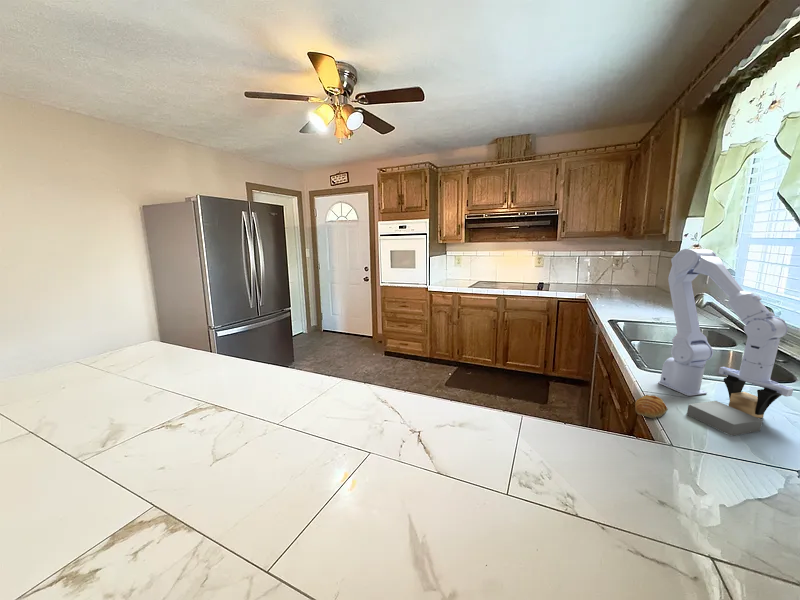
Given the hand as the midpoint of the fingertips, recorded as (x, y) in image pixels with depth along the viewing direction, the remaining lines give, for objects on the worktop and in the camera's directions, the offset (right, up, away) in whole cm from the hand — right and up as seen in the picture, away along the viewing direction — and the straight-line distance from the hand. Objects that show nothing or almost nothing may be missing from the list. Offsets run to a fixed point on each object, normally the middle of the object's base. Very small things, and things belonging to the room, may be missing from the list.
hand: (746, 408), depth 90 cm
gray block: (-11, -2, -5) cm, 12 cm away
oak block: (0, -1, 0) cm, 1 cm away
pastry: (-26, -1, 0) cm, 26 cm away
